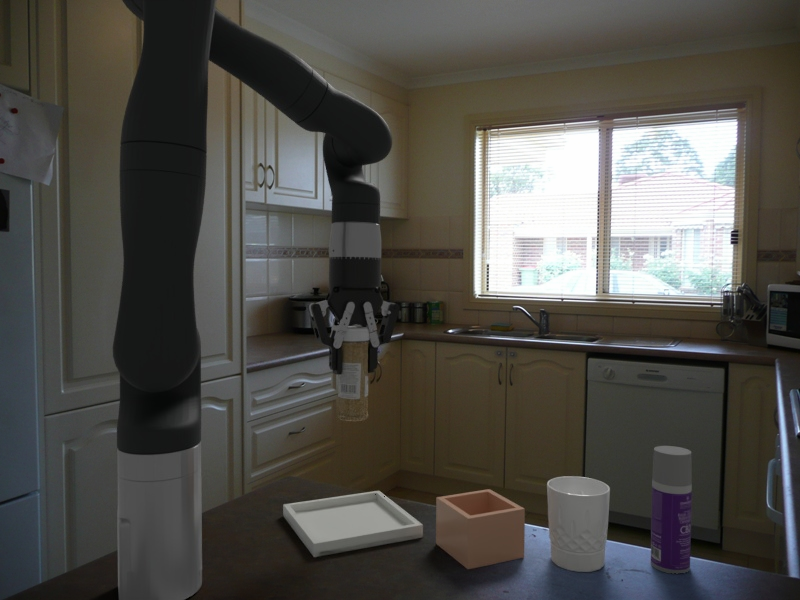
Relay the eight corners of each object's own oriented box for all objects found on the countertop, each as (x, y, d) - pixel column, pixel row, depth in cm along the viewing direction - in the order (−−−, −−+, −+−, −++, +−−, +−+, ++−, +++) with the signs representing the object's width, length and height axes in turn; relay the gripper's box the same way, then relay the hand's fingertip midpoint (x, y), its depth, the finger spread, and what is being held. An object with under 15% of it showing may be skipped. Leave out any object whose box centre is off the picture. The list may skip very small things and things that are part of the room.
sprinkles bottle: (374, 418, 95) (376, 327, 95) (354, 423, 91) (355, 328, 91) (350, 414, 98) (352, 325, 97) (330, 419, 94) (331, 326, 94)
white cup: (595, 581, 79) (597, 500, 79) (536, 563, 84) (536, 487, 83) (617, 558, 85) (618, 483, 85) (560, 543, 90) (561, 472, 90)
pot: (467, 569, 82) (468, 518, 82) (436, 543, 90) (436, 497, 89) (524, 557, 85) (524, 508, 85) (488, 533, 93) (489, 489, 93)
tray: (314, 557, 85) (314, 543, 85) (283, 516, 100) (283, 504, 100) (422, 537, 92) (422, 524, 92) (379, 501, 106) (379, 490, 106)
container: (686, 577, 80) (689, 457, 79) (646, 568, 83) (649, 451, 82) (692, 563, 84) (695, 448, 83) (654, 554, 86) (657, 443, 86)
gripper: (315, 253, 87) (313, 379, 88) (410, 256, 93) (408, 374, 94) (300, 254, 94) (298, 371, 95) (390, 257, 100) (388, 367, 101)
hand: (353, 372), depth 94 cm, fingers closed on sprinkles bottle, 4 cm apart
